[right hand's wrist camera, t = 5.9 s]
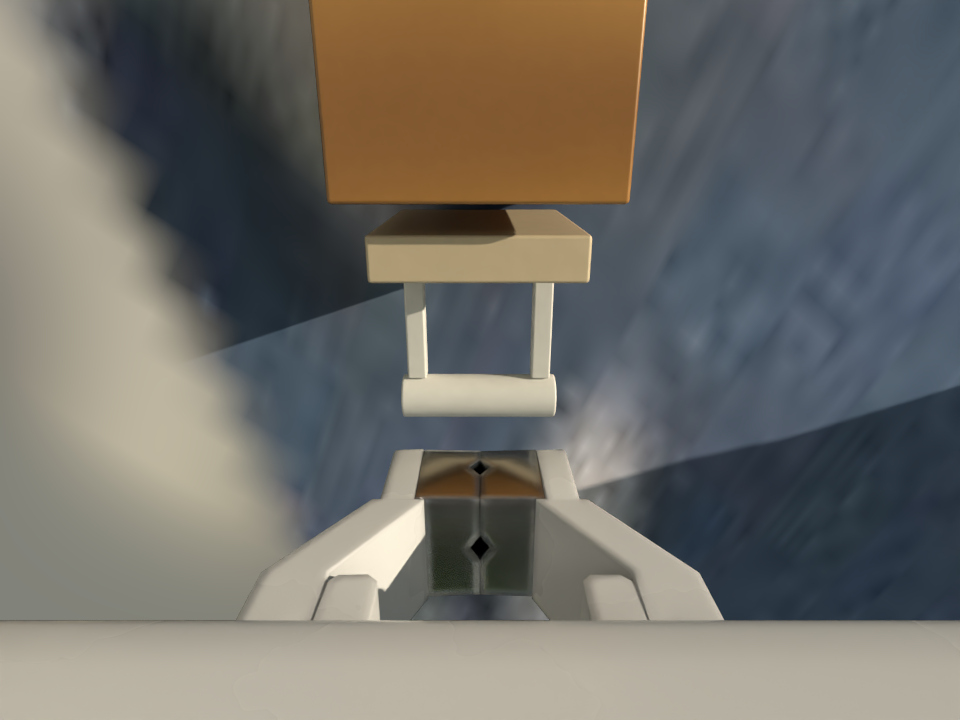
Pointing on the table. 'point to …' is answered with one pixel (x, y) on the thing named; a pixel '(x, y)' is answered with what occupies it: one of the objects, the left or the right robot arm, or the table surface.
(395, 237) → the drawer
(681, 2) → the table surface
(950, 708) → the right robot arm
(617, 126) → the cabinet
